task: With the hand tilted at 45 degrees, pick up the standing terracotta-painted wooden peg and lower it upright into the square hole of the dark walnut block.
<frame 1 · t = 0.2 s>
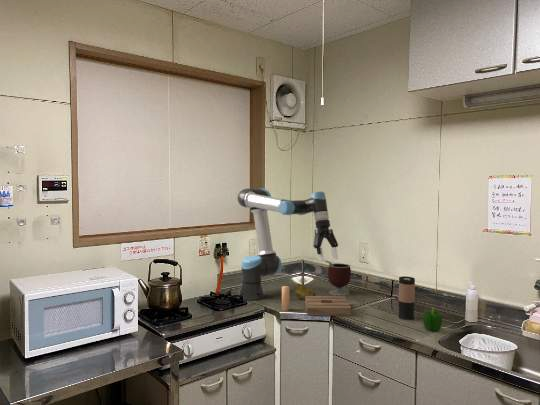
hand: (328, 260, 219), 26 cm above the countertop, tool tilted 15°, fingers open, 13 cm apart
hole block: (326, 309, 222), on the countertop
mate gourd: (337, 293, 255), on the countertop
peg: (285, 309, 220), on the countertop
bell pepper: (432, 330, 190), on the countertop
travel mug: (406, 318, 207), on the countertop
potato: (304, 299, 241), on the countertop
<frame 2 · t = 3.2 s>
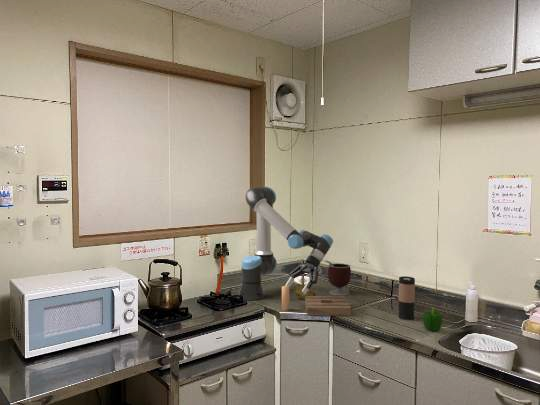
hand: (294, 290, 222), 10 cm above the countertop, tool tilted 45°, fingers open, 13 cm apart
nothing on the countertop moved.
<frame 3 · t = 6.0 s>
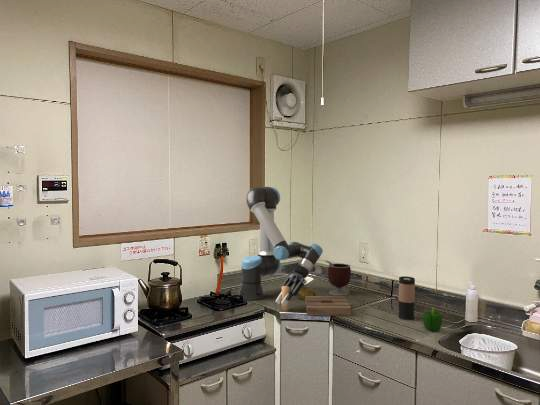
hand: (279, 303, 218), 4 cm above the countertop, tool tilted 45°, fingers closed on peg, 4 cm apart
peg: (285, 309, 220), on the countertop, touching gripper
everything else where it was.
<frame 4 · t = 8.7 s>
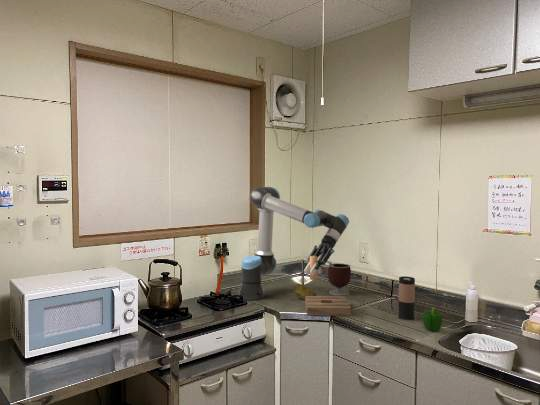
hand: (308, 273, 217), 20 cm above the countertop, tool tilted 45°, fingers closed on peg, 4 cm apart
peg: (313, 279, 219), point 16 cm above the countertop, touching gripper
everything else where it was.
when the fingers open (5 cm above the countertop, at t = 11.3 s): peg stays where it is, point 2 cm above the countertop.
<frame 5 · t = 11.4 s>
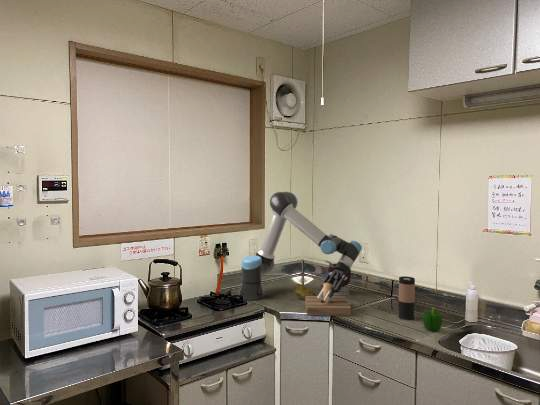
hand: (321, 300, 219), 5 cm above the countertop, tool tilted 45°, fingers open, 4 cm apart
peg: (327, 306, 221), point 2 cm above the countertop
everything else where it was.
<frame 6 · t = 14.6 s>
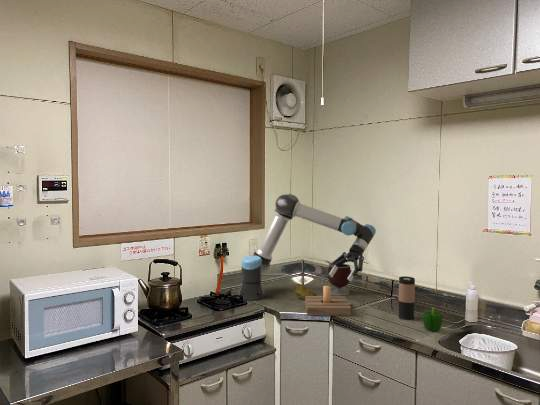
hand: (339, 278, 226), 15 cm above the countertop, tool tilted 45°, fingers open, 13 cm apart
peg: (326, 309, 222), resting in hole block
everything else where it was.
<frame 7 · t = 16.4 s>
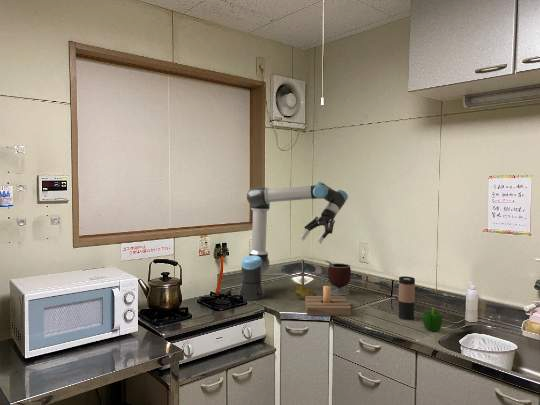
hand: (310, 240, 231), 35 cm above the countertop, tool tilted 45°, fingers open, 13 cm apart
nothing on the countertop moved.
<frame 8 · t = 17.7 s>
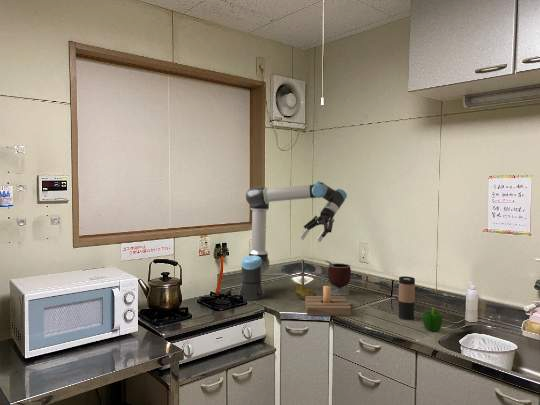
hand: (309, 239, 231), 36 cm above the countertop, tool tilted 45°, fingers open, 13 cm apart
nothing on the countertop moved.
at the end: peg 0.0 cm off-centre on the hole block, point 0.0 cm above the hole block's base; peg tilted 0°; the gripper is holding nothing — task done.
